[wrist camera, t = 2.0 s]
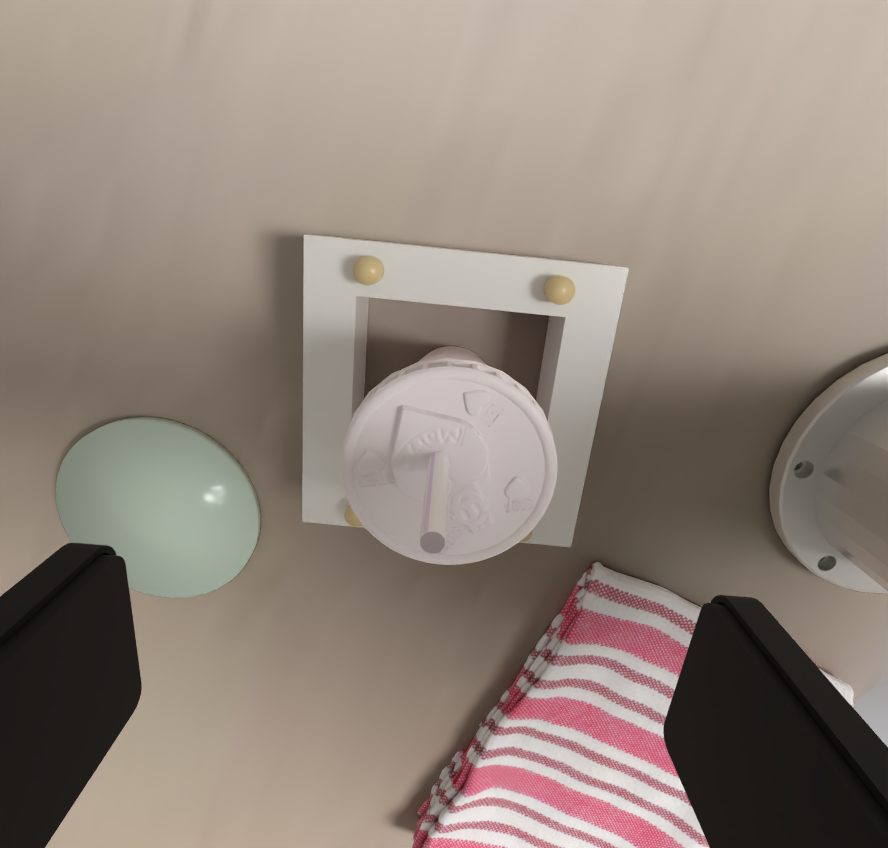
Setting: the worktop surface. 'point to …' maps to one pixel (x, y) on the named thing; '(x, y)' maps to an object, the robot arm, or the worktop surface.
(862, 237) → the worktop surface
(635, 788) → the dish towel
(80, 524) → the coaster
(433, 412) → the smoothie
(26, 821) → the robot arm
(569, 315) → the socket block
